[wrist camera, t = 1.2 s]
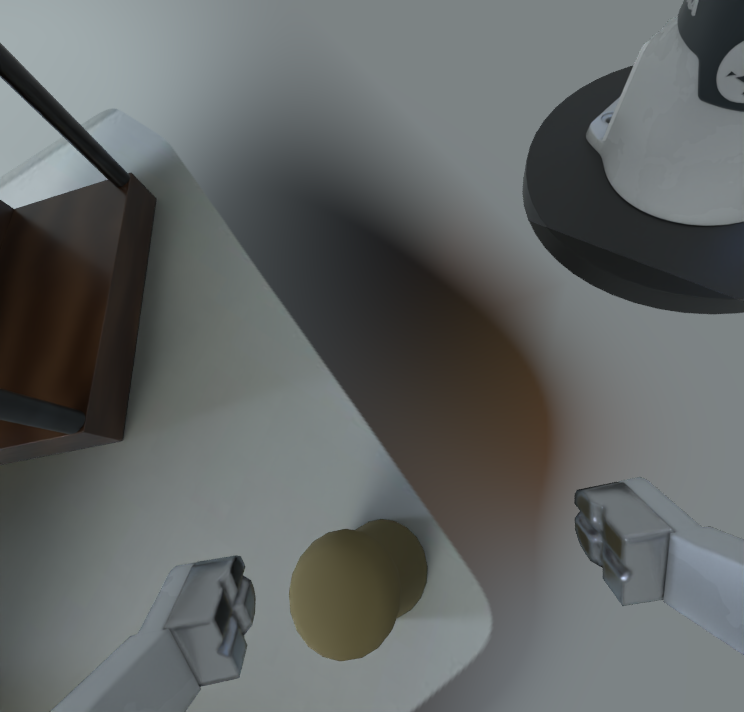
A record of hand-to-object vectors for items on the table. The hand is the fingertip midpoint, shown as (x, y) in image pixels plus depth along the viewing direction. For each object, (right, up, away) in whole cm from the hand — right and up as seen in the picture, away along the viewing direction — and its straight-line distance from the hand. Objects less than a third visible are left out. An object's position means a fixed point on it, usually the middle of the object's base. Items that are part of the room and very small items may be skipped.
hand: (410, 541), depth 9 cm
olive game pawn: (0, -10, +17) cm, 20 cm away
